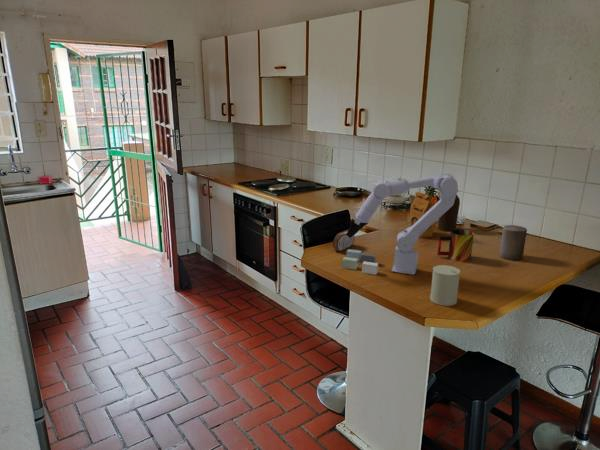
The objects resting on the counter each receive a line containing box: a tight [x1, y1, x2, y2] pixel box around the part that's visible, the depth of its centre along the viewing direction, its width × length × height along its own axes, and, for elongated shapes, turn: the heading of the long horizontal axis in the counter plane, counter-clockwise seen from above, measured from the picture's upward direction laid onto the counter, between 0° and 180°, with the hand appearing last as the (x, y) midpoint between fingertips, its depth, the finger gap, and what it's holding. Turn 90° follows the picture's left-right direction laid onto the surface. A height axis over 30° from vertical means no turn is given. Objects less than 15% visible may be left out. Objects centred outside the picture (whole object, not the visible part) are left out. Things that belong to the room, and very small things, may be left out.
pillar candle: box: [499, 224, 528, 261], centre depth 195 cm, size 10×10×15 cm
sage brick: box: [341, 256, 359, 271], centre depth 183 cm, size 6×3×4 cm, turn 68°
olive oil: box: [437, 194, 461, 232], centre depth 235 cm, size 11×11×25 cm
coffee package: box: [408, 191, 435, 239], centre depth 225 cm, size 10×12×22 cm
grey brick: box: [361, 261, 379, 276], centre depth 178 cm, size 6×3×4 cm, turn 68°
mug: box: [436, 228, 475, 263], centre depth 193 cm, size 10×14×12 cm
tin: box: [332, 229, 356, 252], centre depth 205 cm, size 15×3×8 cm, turn 141°
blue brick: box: [345, 248, 363, 262], centre depth 192 cm, size 6×3×4 cm, turn 68°
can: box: [429, 264, 461, 307], centre depth 153 cm, size 9×9×12 cm
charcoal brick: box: [360, 252, 377, 264], centre depth 188 cm, size 6×3×4 cm, turn 68°
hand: (350, 234), depth 182 cm, fingers open, 7 cm apart
